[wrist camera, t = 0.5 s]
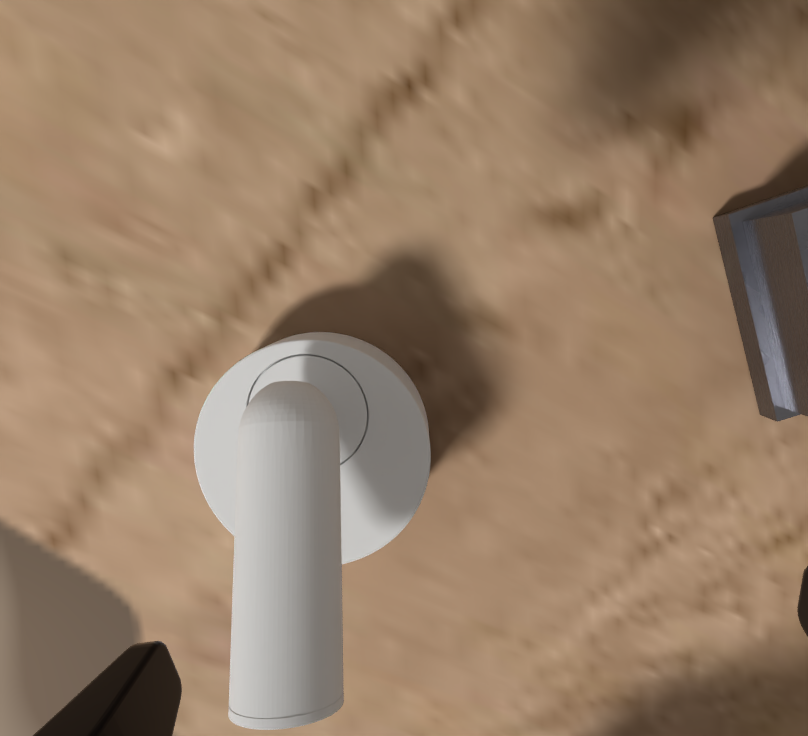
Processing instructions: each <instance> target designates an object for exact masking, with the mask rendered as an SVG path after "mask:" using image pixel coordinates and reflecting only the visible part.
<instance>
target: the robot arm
mask: <svg viewBox="0 0 808 736" xmlns="http://www.w3.org/2000/svg"><path fill="white" fill-rule="evenodd" d="M798 617H799V621H800V623H801V626H802V628H803V630H804V631H805V633H806V635H807V636H808V566H807V568H806V569H805V570H804V573H803V578H802V584H801V590H800V596H799V602H798ZM181 692H182V687H181V680H180V677H179V675H178V672H177V670H176V668H175V665H174V663H173V661H172V658H171V656H170V653H169V651H168V649H167V647H166V645H165V644H164V643H163V642H161V641H154V642H145V643H137V644H134V645H132V646H130V647H129V648H128V649H127V650H126V651H124V652H123V653H122V654H121V655H120V656H119V657H118V658H117V659H116V660H115V661H114V662H112V663H111V664H110V665H109V666H108V667H107V668H106V669H105V670H104V671H103V672H102V673H100V674H99V675H98V676H97V677H96V678H95V679H94V680H93V681H92V682H91V683H90V684H89V685H87V686H86V687H85V688H84V689H83V690H82V691H81V692H80V693H79V694H78V695H77V696H76V697H74V698H73V699H72V700H71V701H70V702H69V703H68V704H67V705H66V706H65V707H64V708H62V709H61V710H60V711H59V712H58V713H57V714H56V715H55V716H54V717H53V718H52V719H50V720H49V721H48V722H47V723H46V724H45V725H44V726H43V727H42V728H41V729H40V730H38V731H37V732H36V733H35V734H34V735H33V736H172V734H173V730H174V726H175V721H176V717H177V713H178V708H179V704H180V700H181Z"/></svg>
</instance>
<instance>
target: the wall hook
mask: <svg viewBox="0 0 808 736" xmlns="http://www.w3.org/2000/svg"><path fill="white" fill-rule="evenodd" d="M194 460H195V467H196V473H197V477H198V481H199V484H200V487H201V489H202V492H203V494H204V496H205V499H206V500H207V502H208V504H209V506H210V508H211V509H212V511H213V512H214V514H215V515H216V517H217V518H218V519H219V521H220V522H221V523H222V524H223V525H224V526H225V527H226V528H227V530H228V531H229V532H230V533H232V534H233V535H234V536H235V540H234V569H233V598H232V628H231V657H230V686H229V719H230V720H231V721H232V722H233V723H234V724H236V725H238V726H242V727H245V728H250V729H260V730H274V729H285V728H293V727H298V726H303V725H307V724H311V723H314V722H317V721H320V720H322V719H324V718H327V717H329V716H331V715H332V714H334V713H335V712H337V711H338V710H339V709H340V708H341V707H342V705H343V702H344V693H343V624H342V564H345V563H349V562H352V561H355V560H358V559H361V558H363V557H365V556H368V555H370V554H372V553H373V552H375V551H377V550H379V549H380V548H382V547H383V546H385V545H386V544H387V543H389V542H390V541H391V540H392V539H394V538H395V537H396V536H397V535H398V534H399V533H400V532H401V531H402V530H403V529H404V527H405V526H406V525H407V524H408V522H409V521H410V520H411V518H412V517H413V515H414V514H415V512H416V510H417V508H418V507H419V505H420V503H421V500H422V498H423V495H424V492H425V489H426V486H427V482H428V478H429V472H430V462H431V450H430V439H429V428H428V420H427V415H426V411H425V407H424V405H423V402H422V399H421V397H420V395H419V392H418V390H417V389H416V387H415V385H414V383H413V382H412V380H411V379H410V377H409V376H408V375H407V373H406V372H405V371H404V370H403V369H402V368H401V367H400V365H399V364H398V363H396V362H395V361H394V360H393V359H392V358H391V357H390V356H388V355H387V354H386V353H384V352H383V351H381V350H380V349H378V348H377V347H375V346H373V345H371V344H369V343H367V342H365V341H363V340H360V339H358V338H355V337H351V336H348V335H344V334H338V333H331V332H310V333H303V334H297V335H293V336H290V337H287V338H284V339H281V340H279V341H276V342H274V343H272V344H270V345H268V346H266V347H263V348H261V349H259V350H257V351H255V352H253V353H251V354H249V355H248V356H246V357H245V358H243V359H242V360H240V361H239V362H237V363H236V364H235V365H234V366H232V367H231V368H230V369H229V370H228V371H227V372H226V373H225V374H224V375H223V376H222V377H221V378H220V379H219V381H218V382H217V383H216V385H215V386H214V387H213V389H212V390H211V392H210V393H209V395H208V397H207V399H206V401H205V402H204V405H203V407H202V409H201V412H200V415H199V418H198V422H197V426H196V431H195V438H194Z"/></svg>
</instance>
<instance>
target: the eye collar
mask: <svg viewBox="0 0 808 736" xmlns="http://www.w3.org/2000/svg"><path fill="white" fill-rule="evenodd" d="M713 221H714V225H715V229H716V233H717V238H718V242H719V246H720V250H721V254H722V258H723V262H724V267H725V271H726V275H727V279H728V283H729V287H730V292H731V296H732V300H733V304H734V308H735V312H736V316H737V321H738V325H739V329H740V333H741V337H742V341H743V345H744V350H745V354H746V358H747V362H748V366H749V370H750V374H751V379H752V383H753V387H754V391H755V395H756V399H757V403H758V408H759V412H760V415H762V416H765V417H767V418H770V419H772V420H775V421H781V420H784V419H787V418H790V417H793V416H797V415H800V414H803V415H805V416H808V185H807V186H804V187H801V188H798V189H795V190H792V191H789V192H786V193H783V194H781V195H778V196H775V197H772V198H769V199H766V200H763V201H760V202H757V203H754V204H751V205H748V206H745V207H743V208H740V209H737V210H734V211H731V212H728V213H725V214H722V215H719V216H716V217H713Z"/></svg>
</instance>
